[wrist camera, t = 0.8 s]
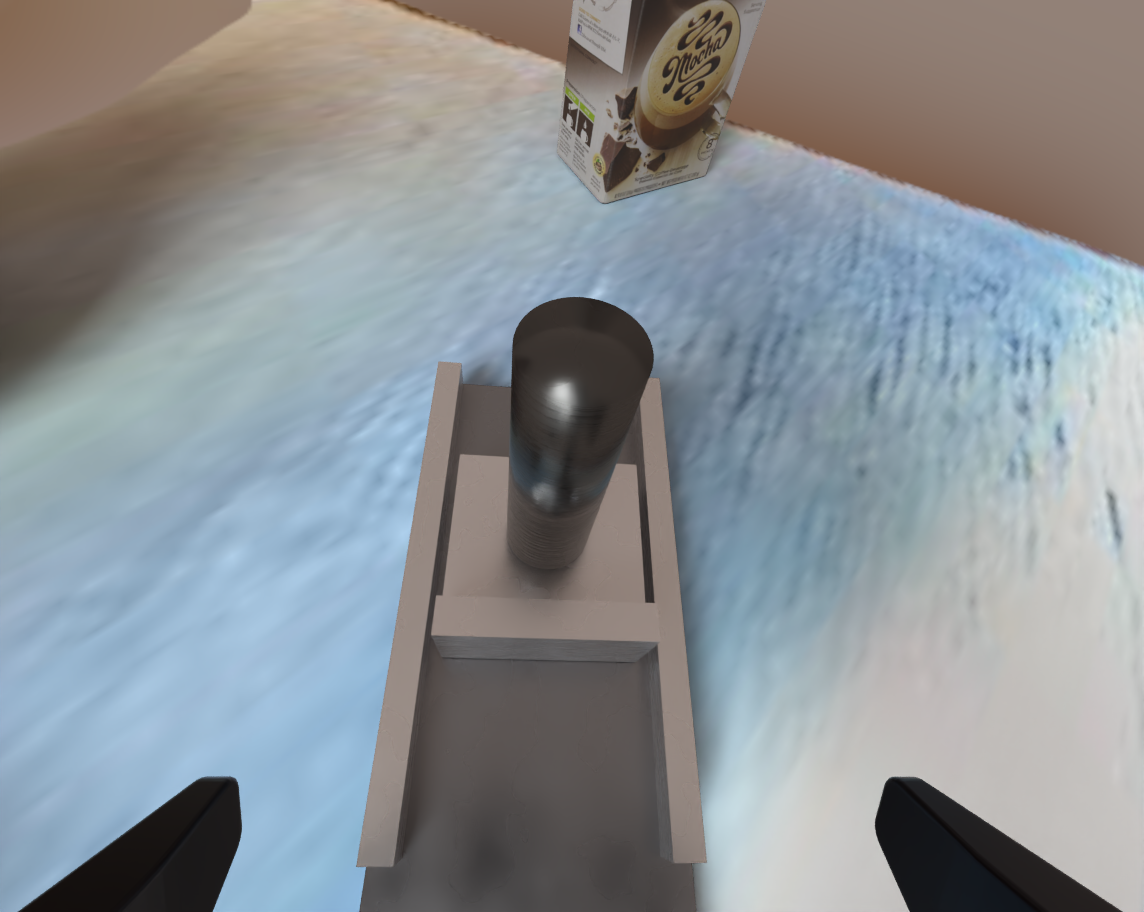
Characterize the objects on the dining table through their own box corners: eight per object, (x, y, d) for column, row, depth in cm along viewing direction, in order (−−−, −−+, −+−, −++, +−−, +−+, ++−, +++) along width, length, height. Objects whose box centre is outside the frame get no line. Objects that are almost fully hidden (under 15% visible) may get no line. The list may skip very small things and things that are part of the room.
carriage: (635, 662, 20) (780, 543, 10) (441, 657, 19) (377, 524, 9) (626, 487, 24) (724, 266, 13) (463, 478, 23) (434, 237, 13)
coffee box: (603, 208, 36) (669, -149, 22) (554, 153, 38) (585, -199, 24) (709, 178, 39) (826, -152, 25) (658, 129, 41) (737, -196, 28)
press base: (727, 1488, 13) (848, 1868, 8) (273, 1546, 12) (137, 2011, 7) (644, 415, 28) (671, 347, 23) (444, 401, 27) (433, 328, 22)
